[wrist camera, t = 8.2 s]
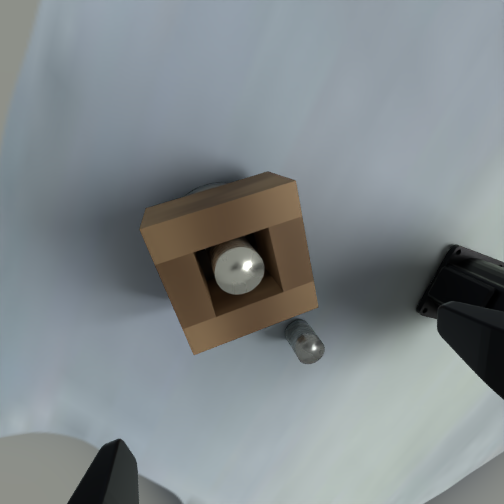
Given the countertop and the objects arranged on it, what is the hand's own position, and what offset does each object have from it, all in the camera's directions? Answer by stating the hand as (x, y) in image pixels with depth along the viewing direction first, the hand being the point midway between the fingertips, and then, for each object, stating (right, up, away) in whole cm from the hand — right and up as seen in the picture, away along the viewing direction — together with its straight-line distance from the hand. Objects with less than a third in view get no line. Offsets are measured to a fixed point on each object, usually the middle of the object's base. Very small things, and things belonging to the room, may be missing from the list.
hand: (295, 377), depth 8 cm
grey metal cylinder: (+2, -3, +15) cm, 15 cm away
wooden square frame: (-3, +4, +10) cm, 11 cm away
